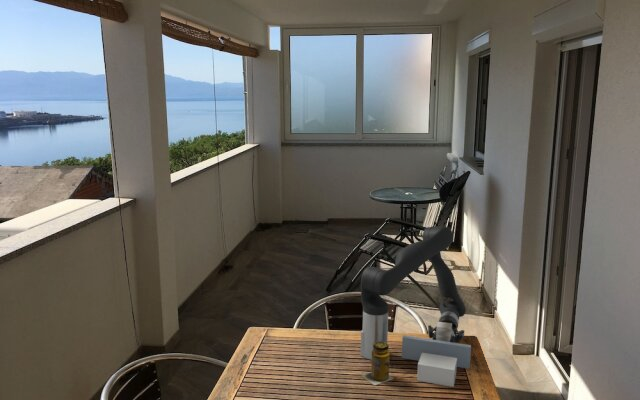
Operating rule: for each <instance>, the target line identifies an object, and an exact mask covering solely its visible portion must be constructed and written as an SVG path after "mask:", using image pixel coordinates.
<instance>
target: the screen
mask: <svg viewBox="0 0 640 400" xmlns="http://www.w3.org/2000/svg"><path fill="white" fill-rule="evenodd" d="M401 340H402V341H401V342H402V343H401V348H402V349H401V359H406V360H414V361H418V362H419V360H420V357H421V354H422V353H428V354H434V355H441V356H447V357H454V358H457V368H463V369H470V367H471V353H472V345H471V344H464V343H460V342H454V343H453V342H446V341H439V340H433V338H423V337H418V336H411V335H406V334H404V335H403V336H402V339H401Z"/></svg>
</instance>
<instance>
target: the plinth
mask: <svg viewBox="0 0 640 400" xmlns="http://www.w3.org/2000/svg"><path fill="white" fill-rule="evenodd" d="M457 370H458V367H457V358H454V357H447V356H441V355H434V354H428V353H422V354H421V357H420V360H419V361H418V363H417V376H416V380H417V382H423V383H429V384H435V385H439V386H445V387H451V388H454V387H455V383H456V378H457Z"/></svg>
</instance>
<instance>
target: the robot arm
mask: <svg viewBox="0 0 640 400" xmlns="http://www.w3.org/2000/svg"><path fill="white" fill-rule="evenodd" d="M453 240H454V233H453V231H452V229H451V228H449V226H444V225H443V226H441V225H440V226H437V225H436V226H428V227H426V228H424V230H423V232H422V240H419V241H416V242H412V243H410V244H408V245H406V246H405V247H403V249H401V250H400V251H399V252H398V253H397V254H396V256H395V262H394V263H395V264H394V266H392V267H391V268H389V269H383V268H380V267H375V266H367V267H366V268H364V270H363V272H362V275H361V277H360V278H361V279H360V300H361V305H362V330H361V332H360V357H364V358H365V359H367V360H371V361H372V351H373V344H374V343H375V342H385V343H387V344H388V335H389V334H388V333H389V332H388V331H389V330H388V329H389V303H388V302H387V301H386V300H385V299H384V298H382V297H381V296H387V295H389V294H391V292H392V291H393V290H394V289H395V288H397V286H399V285H400V284H401V283H402V281H404V279H406V278H407V277H408V276H409V275H410V274H412V273H413V272H414V271H416V270H417V269H419V268H420V267H421V266H422V265H424V264H425V263H426V262H428V261H429V260H430V262H431V266H432V268H433V270H434V274H435V277H436V280H437V285H438V289H439V293H440V296H441V297H443V298H448V299H451V300H446V301H442V302H441V303H440V304H439V312H440V317H439V320H438V322H445V323H452V334H451V338H450V342H453V343H460V342H461V341H462V340H463V339H464V338H465V330H464V329H461V330H458V328H459V321H460V318H461V317H464V315H465V314H466V311H467V309H466V305H465V303H464V301H463V299H462V298H461V296H460V294H459V291H458V288H457V283H456V279H455V277H454V273H453V272H452V270H451V269H450V267H449V266H448V265H447V264H446V262H445V261H444V259H443V258H442V256H441V255H440V254H441V252H442V251H444V250H447V249H448V248H449V247H450V246H451V244H452V243H453ZM427 326H428V327H427V334H428V339H432V340H436V329H437V325H436V326H435V327H433V326H432V325H427Z"/></svg>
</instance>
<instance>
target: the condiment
mask: <svg viewBox="0 0 640 400" xmlns="http://www.w3.org/2000/svg"><path fill="white" fill-rule="evenodd" d="M389 349H390V348H389V344H388V342H387V343H385V342H375V343H374V344H373V351H372V360H371V364H370V365H371V368H370V369H371V371H370V372H368V373H366V374H363V375H362V374H361V377H362V378H363V379H364V380H366V381H367V382H369V383H371V384H372V385H374V386H378V385H380V384H383V383H386V382H389V381H392V380H394V379H395V378H394V377H393V376H391V375H390V356H391V355H390V350H389Z"/></svg>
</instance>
